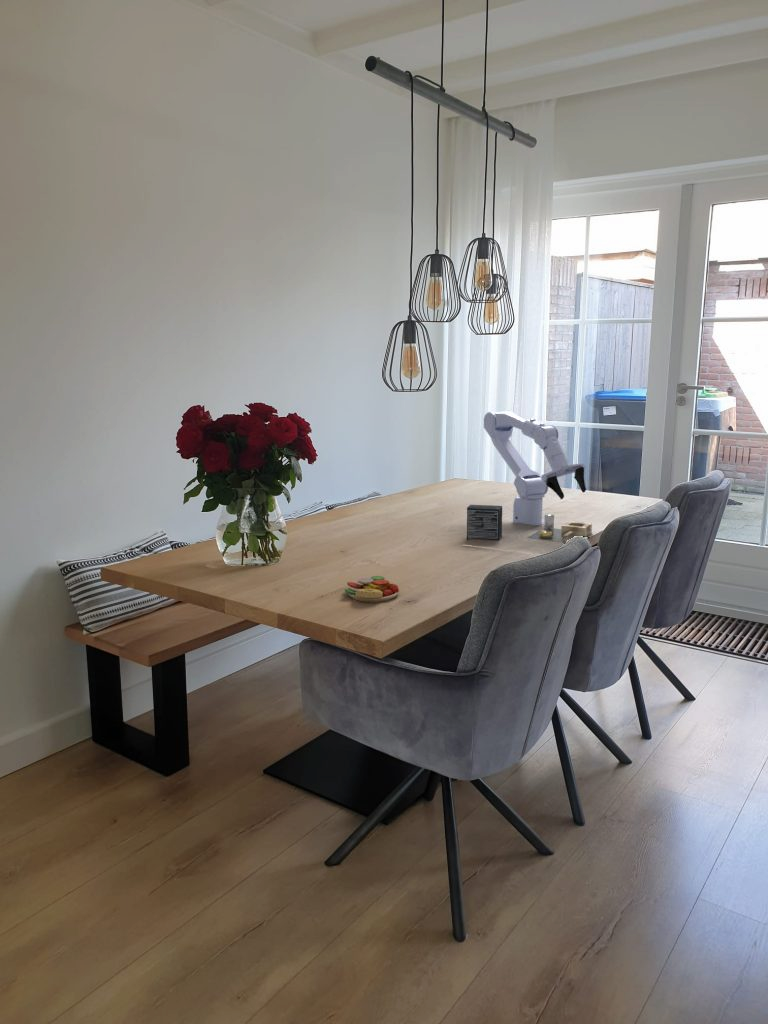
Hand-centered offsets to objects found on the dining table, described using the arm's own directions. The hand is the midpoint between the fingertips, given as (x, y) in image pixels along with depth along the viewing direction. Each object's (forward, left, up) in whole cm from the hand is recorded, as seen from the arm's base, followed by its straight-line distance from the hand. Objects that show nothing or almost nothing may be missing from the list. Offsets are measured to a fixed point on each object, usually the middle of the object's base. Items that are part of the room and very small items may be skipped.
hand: (573, 494), depth 261 cm
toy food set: (-23, -87, -14) cm, 91 cm away
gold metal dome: (-5, -10, -13) cm, 17 cm away
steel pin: (-6, -4, -13) cm, 15 cm away
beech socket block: (+2, 0, -13) cm, 13 cm away
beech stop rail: (+2, -10, -13) cm, 16 cm away
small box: (-22, -19, -13) cm, 32 cm away
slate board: (-3, -5, -13) cm, 14 cm away
